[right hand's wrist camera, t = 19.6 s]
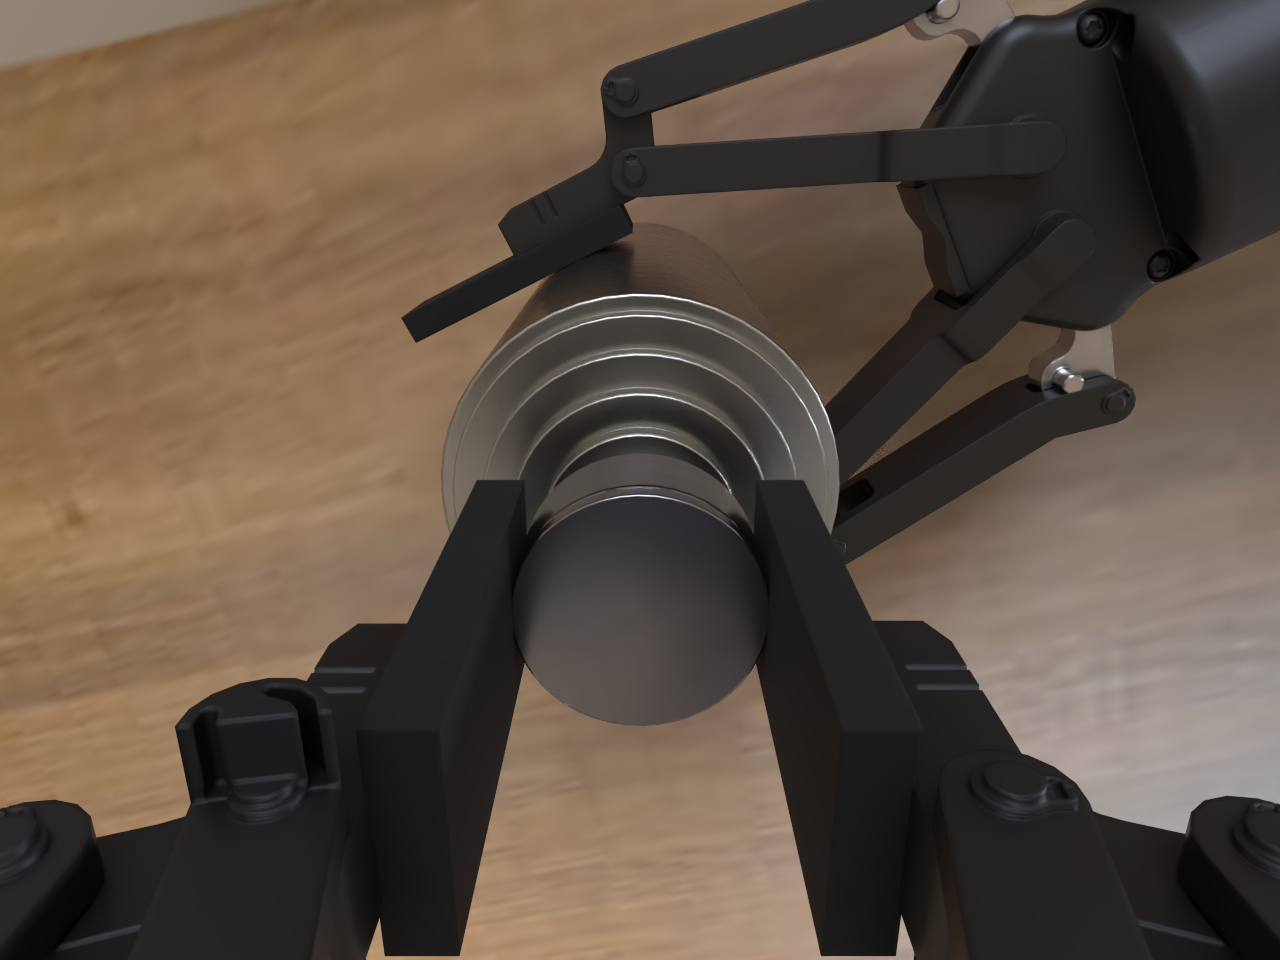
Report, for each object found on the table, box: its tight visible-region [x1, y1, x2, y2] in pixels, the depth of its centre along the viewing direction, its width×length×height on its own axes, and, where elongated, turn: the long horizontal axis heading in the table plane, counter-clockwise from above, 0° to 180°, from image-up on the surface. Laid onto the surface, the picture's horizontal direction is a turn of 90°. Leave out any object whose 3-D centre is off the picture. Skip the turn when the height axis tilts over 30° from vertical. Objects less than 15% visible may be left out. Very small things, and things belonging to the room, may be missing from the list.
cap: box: [511, 454, 769, 726], centre depth 14 cm, size 4×4×2 cm
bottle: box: [441, 223, 840, 535], centre depth 23 cm, size 8×8×20 cm
